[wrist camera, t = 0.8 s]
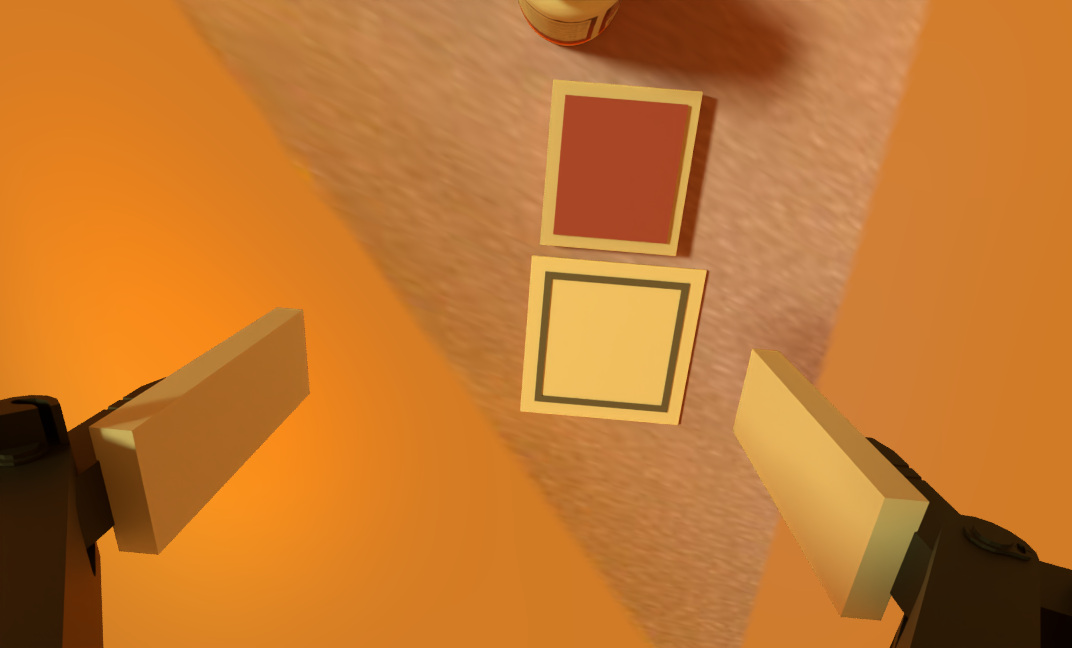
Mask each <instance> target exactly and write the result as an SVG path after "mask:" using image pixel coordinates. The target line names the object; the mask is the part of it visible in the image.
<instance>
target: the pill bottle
mask: <svg viewBox="0 0 1072 648" xmlns="http://www.w3.org/2000/svg"><path fill="white" fill-rule="evenodd" d="M518 2H519V4H520V7H521V10H522V12H523V15H524V17H525V19H526V20H527V22H528V24H529V25H530V26H531V28H532V29H533V30H534V31H535V32H536V33H537V34H538V35H540V36H541V37H542V38H544V39H546V40H547V41H549V42H552V43H555V44H558V45H564V46H573V45H579V44H582V43H585V42H588V41H590V40H592V39H593V38H595V37H596V36H598V35H599V34H600V33H601V32H602V31H604V29H605V28H606V27H607V26H608V25H609V24H610V22H611V21H612V19H613V18H614V16H615V14H616V12H617V10H618V8H619V6H620V4H621V2H622V0H518Z"/></svg>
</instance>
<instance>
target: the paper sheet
mask: <svg viewBox="0 0 1072 648" xmlns="http://www.w3.org/2000/svg"><path fill="white" fill-rule="evenodd" d="M706 272H707V270H703V269H691V268H679V267H667V266H655V265H643V264H631V263H619V262H607V261H596V260H584V259H572V258H560V257H548V256H536V255H532V263H531V276H530V289H529V302H528V315H527V329H526V342H525V355H524V368H523V381H522V394H521V408H520V411H524V412H535V413H547V414H558V415H570V416H582V417H593V418H605V419H616V420H628V421H639V422H651V423H662V424H674V425H678V422H679V416H680V411H681V406H682V400H683V395H684V390H685V384H686V379H687V374H688V368H689V363H690V358H691V352H692V347H693V342H694V336H695V331H696V325H697V320H698V315H699V309H700V304H701V299H702V293H703V288H704V283H705V277H706Z"/></svg>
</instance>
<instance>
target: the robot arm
mask: <svg viewBox="0 0 1072 648" xmlns="http://www.w3.org/2000/svg"><path fill="white" fill-rule="evenodd" d="M309 393H310V391H309V379H308V366H307V353H306V342H305V328H304V316H303V310H302V309H290V308H279V307H277V308H275V309H274V310H272V311H270V312H269V313H267V314H266V315H264V316H263V317H261V318H259V319H258V320H256V321H255V322H253V323H252V324H250V325H248V326H247V327H245V328H244V329H242V330H240V331H239V332H237V333H236V334H234V335H233V336H231V337H230V338H228V339H227V340H225V341H223V342H222V343H220V344H218V345H217V346H215V347H214V348H212V349H211V350H209V351H208V352H206V353H204V354H203V355H201V356H200V357H198V358H196V359H195V360H193V361H192V362H190V363H189V364H187V365H185V366H184V367H182V368H181V369H179V370H177V371H176V372H174V373H173V374H171V375H170V376H168V377H165V378H163V379H160V380H157V381H154V382H152V383H149V384H146V385H144V386H141V387H140V388H138V389H136V390H135V391H133V392H132V393H130V394H129V395H127V396H125V397H123V400H119V401H117V402H115V403H114V404H112V405H110V406H109V407H108V409H107V410H102V411H101V412H99V413H98V414H96V415H94V416H93V417H91V418H89V419H88V420H86V421H85V422H83V423H81V424H80V425H78V426H77V427H75V428H73V429H72V430H70V431H68V432H67V429H66V425H65V421H64V418H63V414H62V410H61V406H60V404H59V402H58V400H57V399H56V398H53V397H50V396H42V395H29V396H20V397H12V398H8V399H4V400H0V648H103V625H102V598H101V597H102V596H101V566H100V554H99V550H98V547H97V543H96V541H97V540H98V539H99V538H100V537H101V536H102V535H104V534H105V533H106V532H107V531H108V530H109V529H110V528H111V527H113V528H114V532H115V536H116V540H117V544H118V548H119V551H124V552H136V553H146V554H157V555H158V554H159V553H160V552H161V551H162V550H163V549H164V548H165V547H166V546H167V545H168V544H169V543H170V542H171V541H172V540H173V539H174V538H175V537H176V535H177V534H178V533H179V532H180V531H181V530H182V529H183V528H184V527H185V526H186V525H187V524H188V523H189V522H190V521H191V519H192V518H193V517H194V516H195V515H196V514H197V513H198V512H199V511H200V510H201V509H202V508H203V507H204V506H205V504H206V503H207V502H208V501H209V500H210V499H211V498H212V497H213V496H214V495H215V494H216V493H217V491H219V490H220V488H221V487H222V486H223V485H224V484H225V483H226V482H227V481H228V480H229V479H230V478H231V477H232V476H233V475H234V473H236V471H237V470H238V469H239V468H240V467H241V466H242V465H243V464H244V463H245V462H246V461H247V460H248V459H249V458H250V457H251V455H252V454H253V453H254V452H255V451H256V450H257V449H258V448H259V447H260V446H261V445H262V444H263V443H264V442H265V440H267V438H268V437H269V436H270V435H271V434H272V433H273V432H274V431H275V430H276V429H277V428H278V427H279V426H280V425H281V424H282V422H283V421H284V420H285V419H286V418H287V417H288V416H289V415H290V414H291V413H292V412H293V411H294V410H295V409H296V408H297V406H298V405H299V404H300V403H301V402H302V401H303V400H304V399H305V398H306V397H307V396H308V395H309ZM733 432H734V434H735V436H736V437H737V439H738V441H739V443H740V444H741V446H742V448H743V449H744V451H745V453H746V455H747V456H748V458H749V460H750V462H751V463H752V465H753V467H754V468H755V470H756V472H757V474H758V475H759V477H760V479H761V480H762V482H763V484H764V486H765V487H766V489H767V491H768V493H769V494H770V496H771V498H772V499H773V501H774V503H775V505H776V506H777V508H778V510H779V511H780V513H781V515H782V517H783V518H784V520H785V522H786V523H787V525H788V527H789V529H790V530H791V532H792V533H793V535H794V537H795V539H796V541H797V542H798V544H799V546H800V548H801V549H802V551H803V553H804V554H805V556H806V558H807V560H808V561H809V563H810V565H811V567H812V568H813V570H814V572H815V573H816V575H817V577H818V578H819V580H820V582H821V584H822V586H823V587H824V589H825V591H826V592H827V594H828V596H829V598H830V599H831V601H832V603H833V604H834V606H835V608H836V610H837V611H838V613H839V615H840V616H841V617H849V618H860V619H872V620H881V619H882V617H883V614H884V612H885V609H886V607H887V604H888V602H889V599H890V597H891V595H892V597H893V598H894V600H895V601H896V602H897V604H898V605H899V607H900V608H901V609H902V611H903V612H904V616H903V618H902V621H901V623H900V626H899V628H898V630H897V632H896V634H895V637H894V639H893V642H892V644H891V646H890V648H1072V570H1070V569H1066V568H1063V567H1059V566H1055V565H1052V564H1049V563H1045V562H1042V561H1039V559H1038V556H1037V554H1036V552H1035V551H1034V550H1033V549H1032V548H1031V547H1030V546H1029V545H1028V544H1027V543H1026V542H1025V541H1023V540H1022V539H1020V538H1019V537H1017V536H1016V535H1014V534H1013V533H1012V532H1010V531H1008V530H1006V529H1004V528H1002V527H1000V526H998V525H995V524H994V523H991V522H988V521H985V520H982V519H979V518H976V517H972V516H965V515H960V514H959V513H958V512H957V511H956V510H955V509H954V508H953V507H952V506H951V505H950V504H949V503H948V502H947V501H945V500H944V499H943V498H942V497H941V496H940V495H939V494H938V493H937V492H936V491H935V490H934V489H933V488H932V487H931V486H930V485H929V484H928V483H926V481H924V480H921V477H920V476H919V475H918V474H917V473H916V472H915V471H914V470H913V469H912V468H909V466H908V464H907V463H906V462H905V461H904V460H903V459H902V458H901V457H899V456H898V455H897V454H896V453H895V452H894V451H893V450H891V449H890V448H888V447H886V446H885V445H883V444H881V443H879V442H878V441H876V440H875V439H873V438H867V437H864V436H863V435H862V434H861V433H860V432H859V431H858V430H857V429H856V428H855V427H854V426H853V425H852V424H851V423H850V422H849V421H848V420H847V419H846V418H845V417H844V416H843V415H842V414H841V413H840V412H839V411H838V410H837V409H836V408H835V407H834V406H833V405H832V404H831V403H830V402H829V401H828V400H827V399H826V398H825V397H824V396H823V395H822V394H821V393H820V392H819V391H818V390H817V389H816V388H815V387H814V386H813V385H812V384H811V383H810V382H809V381H808V380H807V379H806V378H805V377H804V376H803V375H802V374H801V373H800V372H799V371H798V370H797V369H796V368H795V367H794V366H793V365H792V364H791V363H790V362H789V361H788V360H787V359H786V358H785V357H784V356H783V355H782V354H781V353H780V352H779V351H775V350H763V349H752V352H751V356H750V360H749V364H748V369H747V373H746V377H745V381H744V385H743V390H742V394H741V398H740V402H739V406H738V410H737V415H736V419H735V423H734V427H733Z"/></svg>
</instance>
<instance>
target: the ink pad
mask: <svg viewBox="0 0 1072 648" xmlns="http://www.w3.org/2000/svg"><path fill="white" fill-rule="evenodd" d="M702 95H703V92H700V91H688V90H676V89H663V88H651V87H638V86H626V85H614V84H601V83H589V82H577V81H564V80H553V89H552V102H551V114H550V127H549V139H548V152H547V164H546V177H545V189H544V201H543V214H542V226H541V239H540V245H551V246H563V247H575V248H587V249H599V250H611V251H623V252H635V253H646V254H658V255H670V256H676V252H677V245H678V239H679V233H680V227H681V221H682V215H683V209H684V203H685V197H686V191H687V185H688V179H689V173H690V167H691V161H692V155H693V149H694V143H695V137H696V131H697V125H698V119H699V113H700V107H701V101H702Z"/></svg>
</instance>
